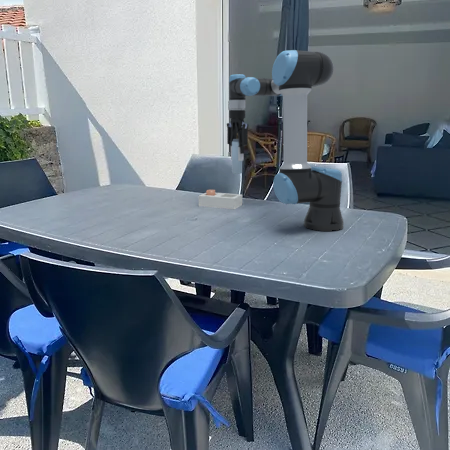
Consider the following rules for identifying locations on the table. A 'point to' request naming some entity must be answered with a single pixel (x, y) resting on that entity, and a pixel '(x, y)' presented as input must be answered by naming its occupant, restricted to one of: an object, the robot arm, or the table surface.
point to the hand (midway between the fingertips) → (237, 159)
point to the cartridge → (236, 158)
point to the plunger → (210, 192)
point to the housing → (221, 200)
